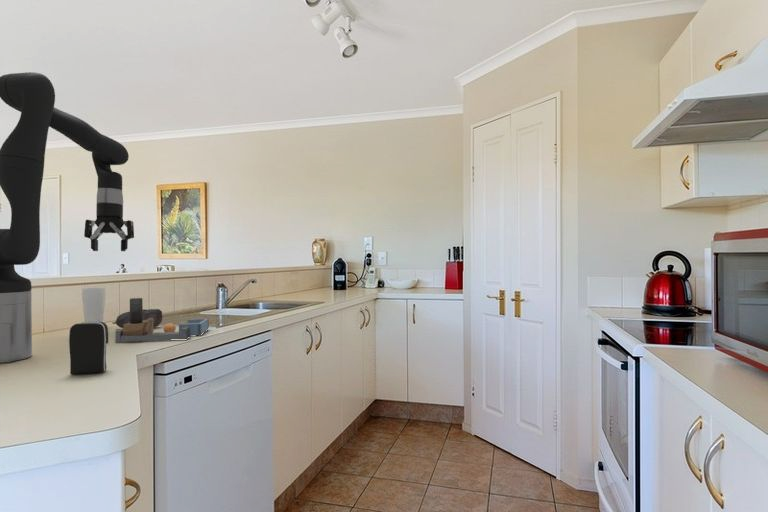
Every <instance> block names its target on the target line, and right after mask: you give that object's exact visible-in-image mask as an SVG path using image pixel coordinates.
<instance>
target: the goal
mask: <svg viewBox="0 0 768 512" xmlns="http://www.w3.org/2000/svg"><path fill="white" fill-rule="evenodd" d="M209 323H210V322H209V318H187V323H178V332H181V329H182V328H184V327H190V335H201V334H202V333H203V332H205V331H206V330H207V329H208V328H209V327H210V324H209ZM205 333H206V332H205ZM202 335H203V334H202ZM202 335H201V336H202Z"/></svg>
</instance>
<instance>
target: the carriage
mask: <svg viewBox="0 0 768 512" xmlns="http://www.w3.org/2000/svg"><path fill="white" fill-rule="evenodd" d="M143 310H144V309H143V298H142V297H136V298H135V297H133V298H129V311H130V322H129V323H127V324H124V325H123V328H122V329H123V335H142V334H144V333H154V328H153V318H150V319H147V320H143Z"/></svg>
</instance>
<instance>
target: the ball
mask: <svg viewBox="0 0 768 512" xmlns="http://www.w3.org/2000/svg"><path fill="white" fill-rule="evenodd" d="M163 331H164V332H176V325H175V324H174V323H171V322H170V323H169V322H168V323H166V324H165V325H164V327H163Z"/></svg>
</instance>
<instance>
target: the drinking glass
mask: <svg viewBox="0 0 768 512" xmlns="http://www.w3.org/2000/svg"><path fill="white" fill-rule="evenodd" d="M81 299H82V300H81V301H82V310H83V318H84V322H104V317H105V315H104V314H105V306H106V305H105V304H106V287H105V286H84V287H82V294H81Z"/></svg>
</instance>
